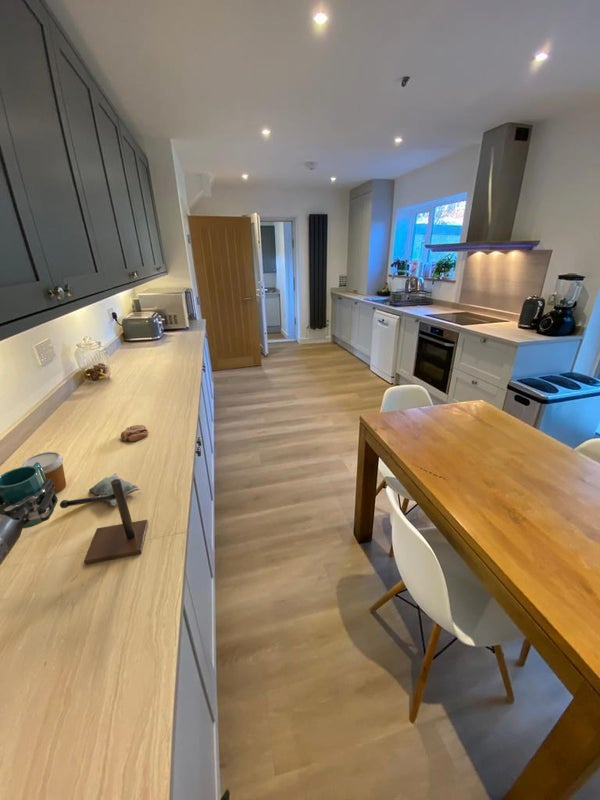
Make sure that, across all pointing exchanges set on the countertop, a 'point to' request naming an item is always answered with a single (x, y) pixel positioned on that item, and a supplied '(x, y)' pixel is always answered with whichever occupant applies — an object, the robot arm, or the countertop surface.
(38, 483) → the mug
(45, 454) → the disposable coffee cup
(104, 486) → the grey bean bag
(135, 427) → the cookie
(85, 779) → the countertop surface
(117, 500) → the mug stand
